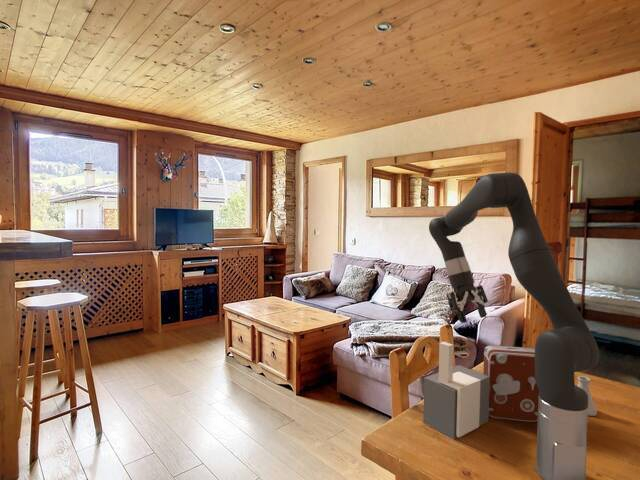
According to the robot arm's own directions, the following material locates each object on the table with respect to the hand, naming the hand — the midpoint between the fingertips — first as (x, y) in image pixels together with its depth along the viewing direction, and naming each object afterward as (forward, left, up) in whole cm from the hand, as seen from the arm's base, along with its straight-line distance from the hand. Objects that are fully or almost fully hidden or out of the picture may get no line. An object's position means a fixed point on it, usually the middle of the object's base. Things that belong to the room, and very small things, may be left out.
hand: (474, 319), depth 123 cm
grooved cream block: (-24, +9, -23) cm, 35 cm away
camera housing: (-19, +7, -24) cm, 32 cm away
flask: (-6, -30, -25) cm, 40 cm away
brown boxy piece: (-13, -10, -25) cm, 30 cm away
